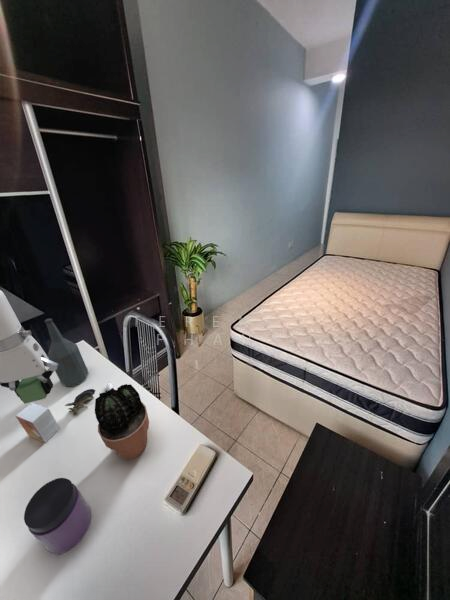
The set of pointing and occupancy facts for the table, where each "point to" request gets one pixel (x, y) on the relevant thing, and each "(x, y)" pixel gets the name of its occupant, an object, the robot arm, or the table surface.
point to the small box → (38, 422)
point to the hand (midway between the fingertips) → (37, 392)
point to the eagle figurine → (81, 400)
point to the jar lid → (50, 505)
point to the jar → (67, 528)
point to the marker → (109, 386)
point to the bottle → (66, 357)
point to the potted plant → (122, 421)
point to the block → (30, 390)
